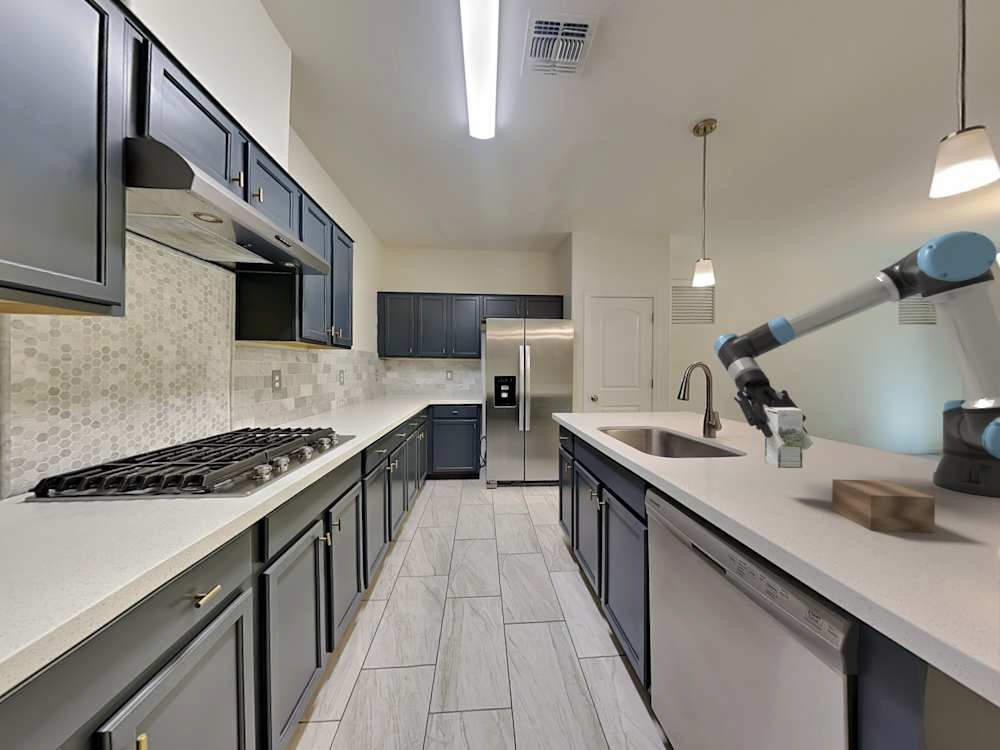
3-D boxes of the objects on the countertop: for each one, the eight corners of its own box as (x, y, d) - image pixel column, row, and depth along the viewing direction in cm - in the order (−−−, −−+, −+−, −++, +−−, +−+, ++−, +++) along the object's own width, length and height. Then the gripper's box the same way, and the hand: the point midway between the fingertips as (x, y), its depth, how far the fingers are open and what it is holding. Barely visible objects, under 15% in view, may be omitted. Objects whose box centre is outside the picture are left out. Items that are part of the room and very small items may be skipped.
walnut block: (887, 512, 88) (887, 480, 87) (934, 533, 77) (934, 497, 76) (832, 510, 89) (832, 479, 89) (870, 530, 78) (871, 495, 78)
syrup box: (788, 462, 101) (787, 406, 101) (803, 468, 95) (803, 408, 95) (764, 462, 102) (764, 406, 102) (778, 468, 96) (777, 409, 96)
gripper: (775, 385, 114) (823, 454, 98) (709, 387, 113) (748, 456, 97) (788, 367, 109) (843, 436, 93) (720, 368, 108) (763, 438, 92)
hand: (794, 446), depth 95 cm, fingers closed on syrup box, 6 cm apart
